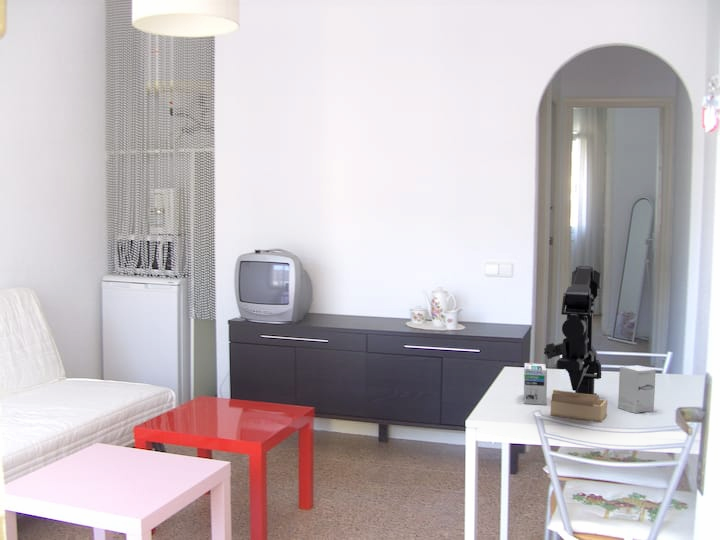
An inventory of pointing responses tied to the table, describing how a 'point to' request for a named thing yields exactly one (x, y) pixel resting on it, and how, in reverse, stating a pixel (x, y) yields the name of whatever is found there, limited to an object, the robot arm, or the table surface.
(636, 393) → the supplement box
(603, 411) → the carton
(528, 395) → the light bulb box
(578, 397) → the flap
